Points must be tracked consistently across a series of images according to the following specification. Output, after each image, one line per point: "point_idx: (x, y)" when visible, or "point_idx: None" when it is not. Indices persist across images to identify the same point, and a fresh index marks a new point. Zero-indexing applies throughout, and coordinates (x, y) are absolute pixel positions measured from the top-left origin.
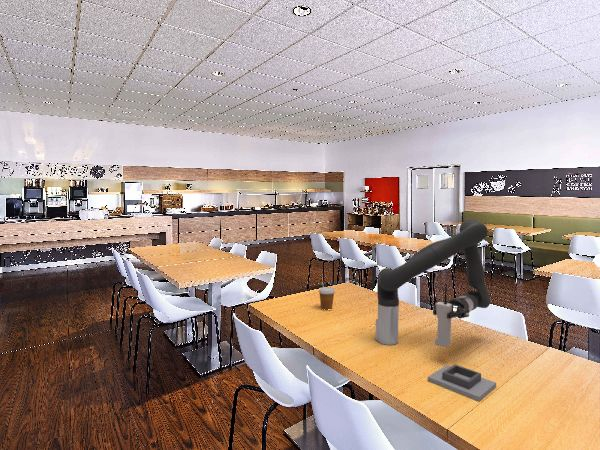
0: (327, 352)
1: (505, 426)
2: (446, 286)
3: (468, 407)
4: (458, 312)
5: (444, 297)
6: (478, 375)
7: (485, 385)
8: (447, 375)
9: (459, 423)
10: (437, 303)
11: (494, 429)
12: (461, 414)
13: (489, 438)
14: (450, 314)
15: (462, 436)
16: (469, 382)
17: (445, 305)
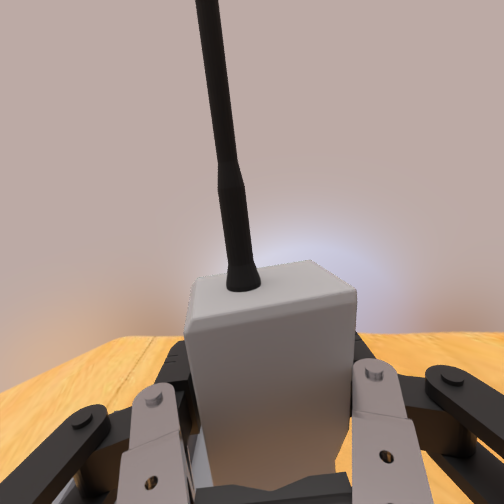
0: (499, 335)
1: (57, 390)
2: (203, 45)
3: (125, 390)
4: (101, 409)
5: (243, 205)
6: (73, 479)
7: (55, 500)
8: None
9: (140, 350)
10: (304, 263)
11: (83, 372)
12: (138, 367)
13: (96, 353)
14: (181, 343)
15: (135, 337)
16: (114, 412)
17: (222, 274)
